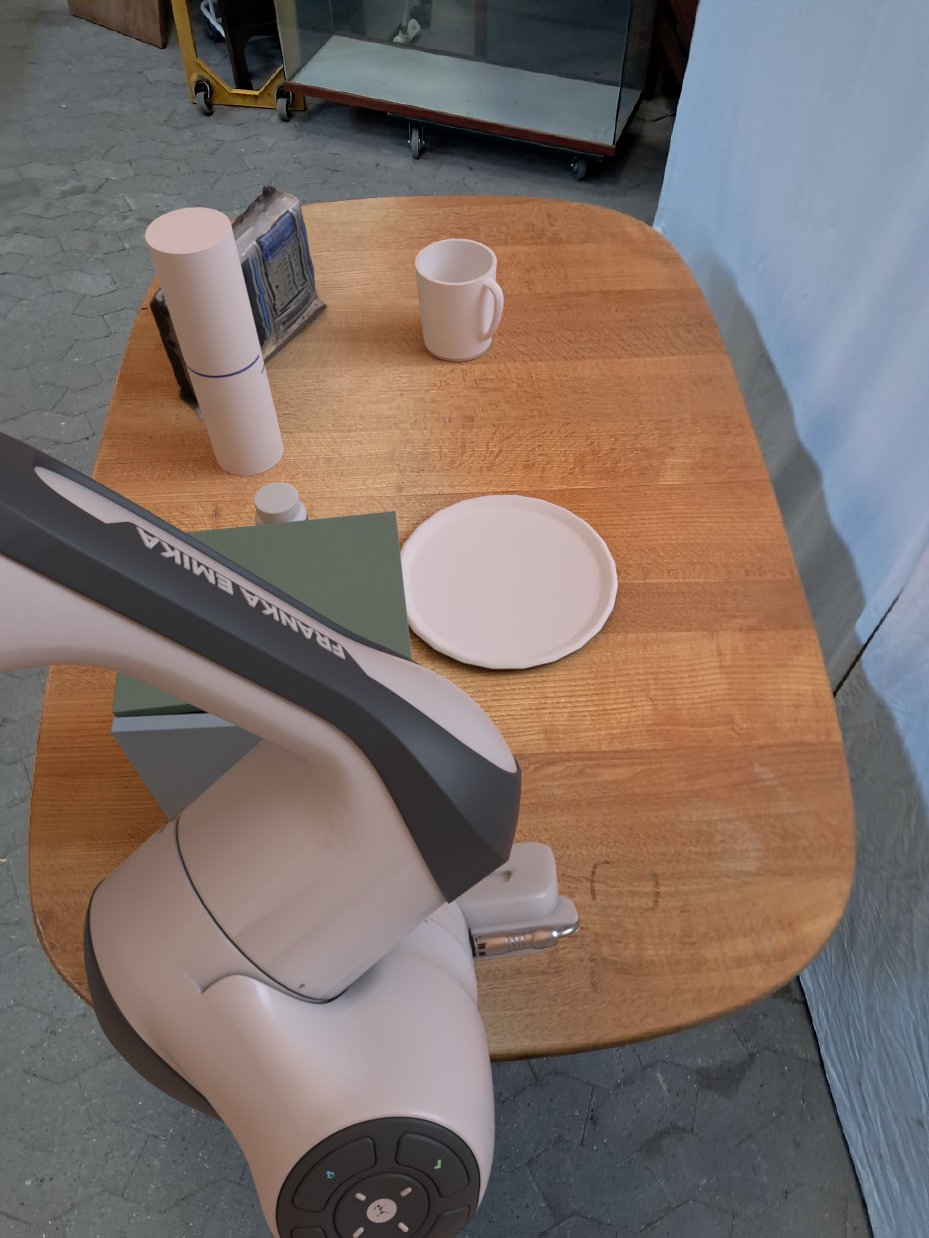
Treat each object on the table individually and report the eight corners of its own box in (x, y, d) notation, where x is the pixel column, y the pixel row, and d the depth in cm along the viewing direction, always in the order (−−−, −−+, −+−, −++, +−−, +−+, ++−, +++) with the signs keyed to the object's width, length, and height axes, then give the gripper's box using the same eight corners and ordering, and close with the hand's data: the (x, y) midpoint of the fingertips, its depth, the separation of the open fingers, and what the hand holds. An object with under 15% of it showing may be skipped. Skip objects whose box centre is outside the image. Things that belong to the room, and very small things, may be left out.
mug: (404, 344, 107) (397, 264, 98) (454, 309, 111) (452, 229, 102) (475, 383, 102) (475, 302, 94) (525, 345, 106) (528, 264, 98)
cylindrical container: (203, 465, 95) (127, 243, 75) (238, 422, 99) (176, 201, 79) (262, 483, 93) (201, 261, 73) (296, 439, 97) (247, 216, 77)
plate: (347, 600, 84) (345, 591, 83) (481, 472, 94) (481, 463, 93) (533, 717, 76) (533, 709, 75) (658, 564, 86) (660, 555, 85)
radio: (199, 421, 99) (161, 301, 87) (147, 390, 102) (102, 271, 90) (341, 317, 110) (324, 197, 98) (289, 292, 113) (267, 174, 101)
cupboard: (429, 817, 71) (413, 678, 55) (196, 845, 70) (111, 712, 54) (413, 669, 79) (395, 510, 63) (205, 692, 78) (133, 537, 62)
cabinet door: (433, 921, 66) (417, 803, 50) (184, 933, 66) (90, 819, 50) (431, 836, 70) (416, 703, 54) (196, 847, 70) (112, 717, 54)
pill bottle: (304, 582, 85) (289, 521, 78) (258, 571, 86) (239, 510, 79) (324, 546, 88) (310, 484, 81) (279, 535, 89) (262, 473, 82)
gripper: (583, 878, 46) (539, 788, 60) (174, 931, 45) (225, 827, 58) (592, 993, 47) (547, 879, 60) (192, 1048, 46) (238, 918, 59)
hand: (387, 854), depth 59 cm, fingers closed on cabinet door, 2 cm apart
